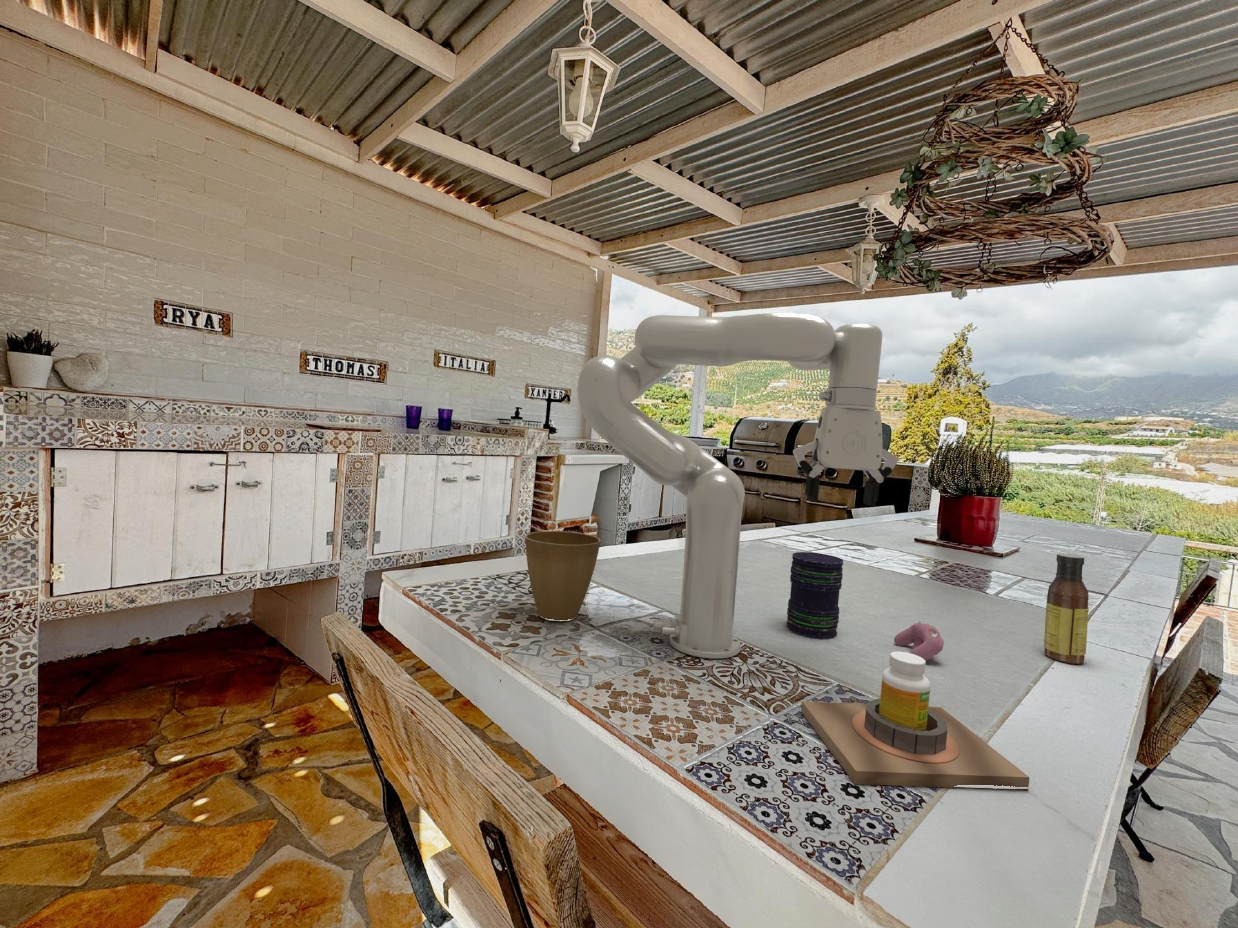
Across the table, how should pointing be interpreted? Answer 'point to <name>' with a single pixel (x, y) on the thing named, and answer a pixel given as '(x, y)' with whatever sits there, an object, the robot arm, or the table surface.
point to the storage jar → (814, 595)
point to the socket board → (905, 770)
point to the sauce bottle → (1067, 612)
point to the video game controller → (921, 640)
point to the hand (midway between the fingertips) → (840, 503)
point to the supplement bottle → (905, 692)
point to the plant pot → (560, 571)
